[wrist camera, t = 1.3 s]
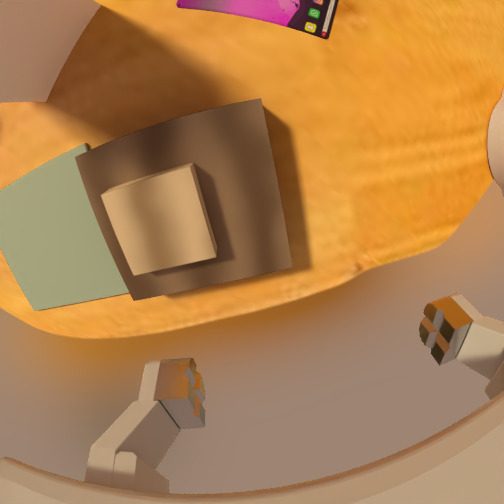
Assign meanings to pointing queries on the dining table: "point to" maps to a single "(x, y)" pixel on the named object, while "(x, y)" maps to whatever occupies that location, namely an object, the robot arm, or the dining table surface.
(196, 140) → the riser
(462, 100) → the dining table surface
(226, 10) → the smartphone
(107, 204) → the coaster
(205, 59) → the dining table surface
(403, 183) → the dining table surface
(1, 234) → the mat
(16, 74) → the milk
